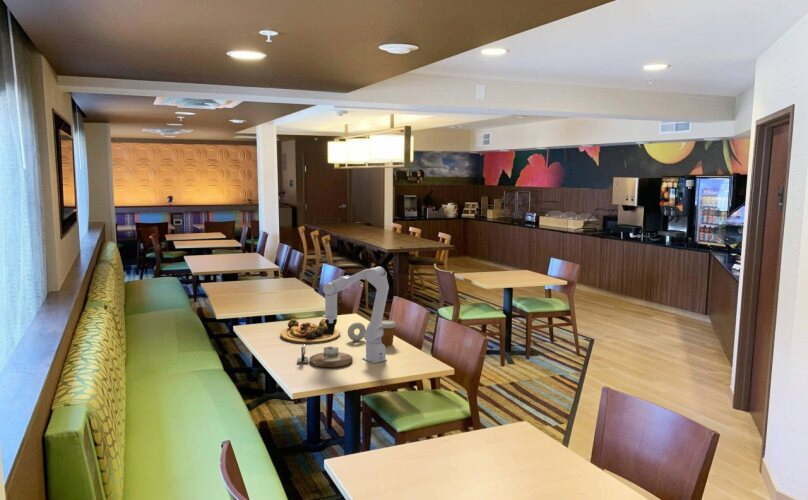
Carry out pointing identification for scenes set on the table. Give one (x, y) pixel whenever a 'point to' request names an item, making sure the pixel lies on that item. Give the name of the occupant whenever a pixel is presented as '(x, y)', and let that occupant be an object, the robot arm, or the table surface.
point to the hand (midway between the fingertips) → (331, 334)
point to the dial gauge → (303, 359)
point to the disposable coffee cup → (388, 332)
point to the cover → (331, 351)
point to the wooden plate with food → (308, 333)
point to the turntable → (331, 360)
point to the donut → (352, 327)
